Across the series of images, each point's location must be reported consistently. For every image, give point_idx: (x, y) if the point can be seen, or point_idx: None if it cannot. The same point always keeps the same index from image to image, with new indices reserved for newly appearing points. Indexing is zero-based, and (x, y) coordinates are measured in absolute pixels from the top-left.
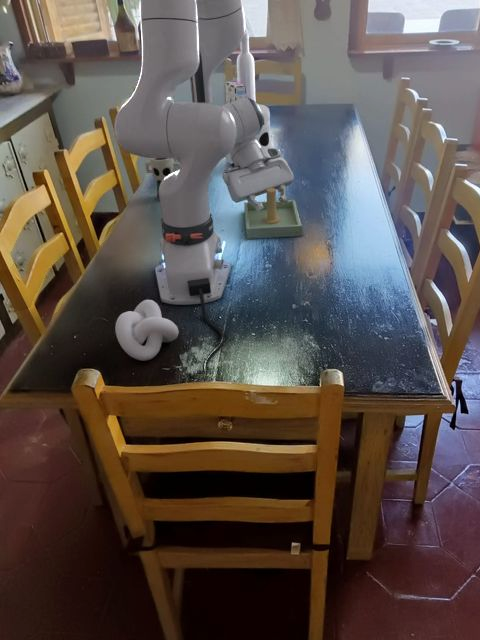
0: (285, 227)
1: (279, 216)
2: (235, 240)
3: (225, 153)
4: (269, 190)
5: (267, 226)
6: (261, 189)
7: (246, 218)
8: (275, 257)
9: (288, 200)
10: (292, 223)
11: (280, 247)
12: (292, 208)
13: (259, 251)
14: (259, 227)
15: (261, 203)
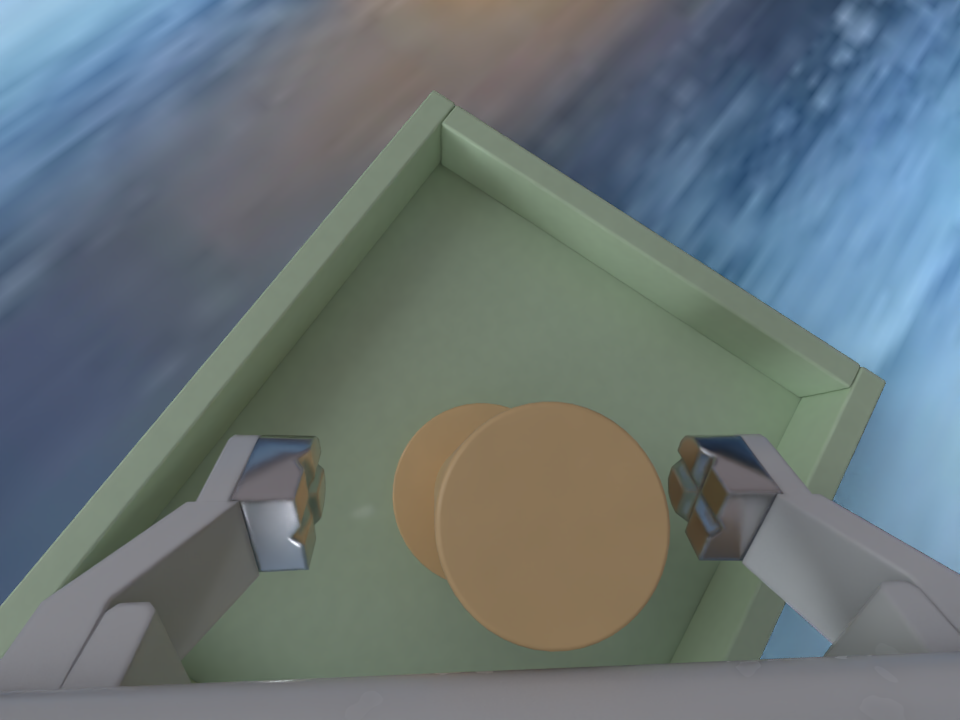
0: (560, 175)
1: (362, 511)
2: (895, 438)
3: None
4: (612, 516)
5: (695, 285)
6: (781, 676)
7: None
8: (767, 62)
9: None
10: (373, 304)
11: (666, 132)
12: None
13: (817, 186)
14: (770, 317)
15: (732, 484)
